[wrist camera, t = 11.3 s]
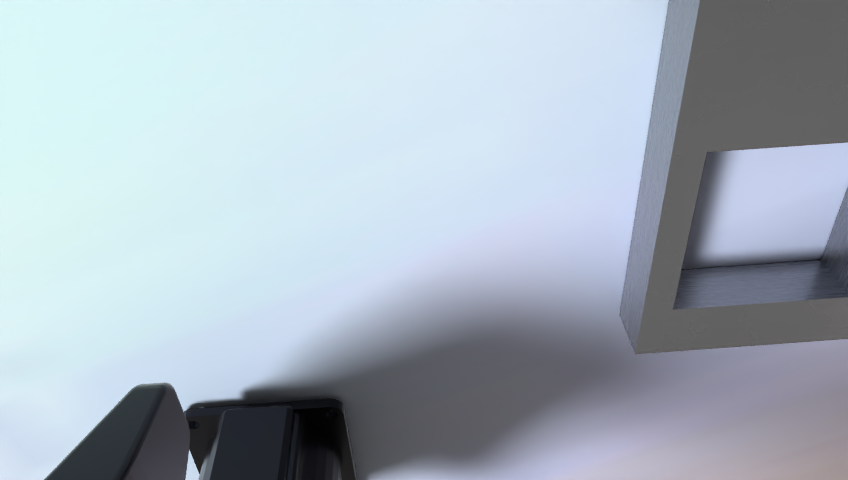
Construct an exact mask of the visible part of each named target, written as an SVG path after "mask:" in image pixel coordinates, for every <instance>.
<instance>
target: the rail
mask: <svg viewBox="0 0 848 480" xmlns="http://www.w3.org/2000/svg"><path fill="white" fill-rule="evenodd" d="M846 142H848V0H669V3H668V10H667V16H666V22H665V29H664V35H663V42H662V48H661V54H660V61H659V67H658V74H657V80H656V86H655V93H654V99H653V105H652V112H651V118H650V125H649V131H648V137H647V144H646V150H645V157H644V163H643V169H642V176H641V182H640V189H639V195H638V201H637V208H636V214H635V220H634V227H633V233H632V240H631V246H630V252H629V259H628V265H627V272H626V278H625V284H624V291H623V297H622V304H621V310H620V317H621V320H622V322H623V325H624V327H625V330H626V332H627V335H628V337H629V340H630V342H631V345H632V347H633V350H634V352H635V354H642V353H656V352H670V351H684V350H698V349H712V348H726V347H740V346H754V345H768V344H782V343H796V342H810V341H824V340H837V339H848V188H847V191H846V194H845V196H844V199H843V202H842V205H841V207H840V210H839V213H838V215H837V218H836V221H835V224H834V226H833V229H832V232H831V235H830V237H829V240H828V243H827V245H826V248H825V251H824V254H823V256H822V259H821V260H814V261H800V262H786V263H772V264H758V265H744V266H729V267H715V268H701V269H687V270H681V269H682V265H683V260H684V256H685V251H686V246H687V242H688V237H689V232H690V228H691V223H692V219H693V214H694V209H695V205H696V200H697V196H698V191H699V186H700V182H701V177H702V172H703V168H704V163H705V159H706V154H707V152H716V151H731V150H745V149H759V148H774V147H788V146H803V145H817V144H831V143H846Z"/></svg>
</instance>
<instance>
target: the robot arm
mask: <svg viewBox="0 0 848 480" xmlns="http://www.w3.org/2000/svg"><path fill="white" fill-rule="evenodd" d="M189 449H190V452H191V454H192V457H193V459H194V462H195V464H196V467H197V469H198V472H199V474H200V476H199V480H357V474H356V469H355V463H354V458H353V452H352V447H351V441H350V436H349V430H348V425H347V419H346V414H345V408H344V405H343V403H342V402H340V401H339V400H336V399H321V400H308V401H294V402H280V403H266V404H252V405H238V406H224V407H210V408H196V409H189V410H186V411H184V412H183V409H182V407H181V404H180V402H179V399H178V397H177V394H176V392H175V390H174V388H173V386H172V385H170V384H169V383H154V384H141V385H138V386H136V387H134V388H133V389H132V390H130V391H129V392H128V393H127V395H126V396H125V397H124V398H123V399H122V400H121V401H120V402H119V403H118V404H117V405H116V406H115V407H114V408H113V409H112V410H111V411H110V412H109V413H108V414H107V415H106V416H105V417H104V418H103V419H102V420H101V421H100V422H99V423H98V425H97V426H96V427H95V428H94V429H93V430H92V431H91V432H90V433H89V434H88V435H87V436H86V437H85V438H84V439H83V440H82V441H81V442H80V443H79V444H78V445H77V446H76V447H75V448H74V449H73V450H72V451H71V452H70V454H69V455H68V456H67V457H66V458H65V459H64V460H63V461H62V462H61V463H60V464H59V465H58V466H57V467H56V468H55V469H54V470H53V471H52V472H51V473H50V474H49V475H48V476H47V477H46V478H45V479H44V480H185V478H186V470H187V462H188V454H189Z"/></svg>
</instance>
